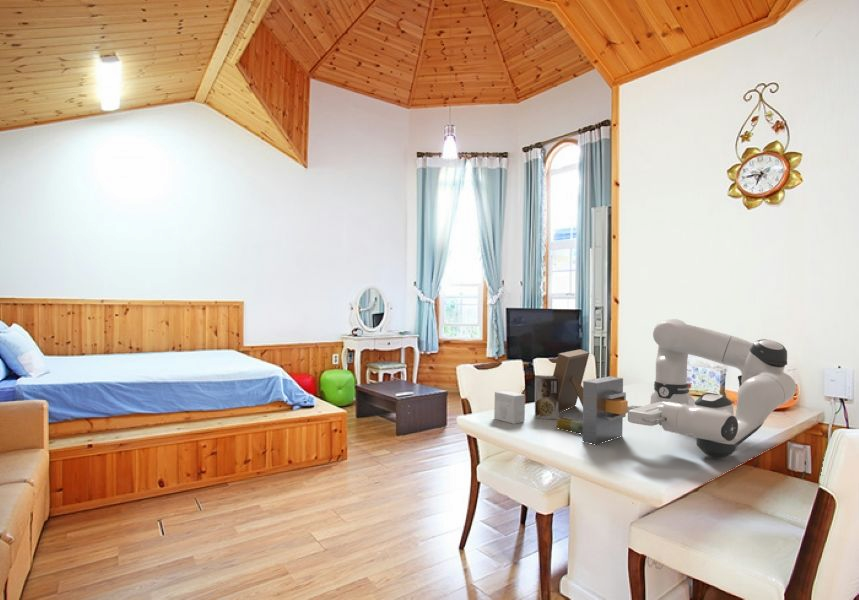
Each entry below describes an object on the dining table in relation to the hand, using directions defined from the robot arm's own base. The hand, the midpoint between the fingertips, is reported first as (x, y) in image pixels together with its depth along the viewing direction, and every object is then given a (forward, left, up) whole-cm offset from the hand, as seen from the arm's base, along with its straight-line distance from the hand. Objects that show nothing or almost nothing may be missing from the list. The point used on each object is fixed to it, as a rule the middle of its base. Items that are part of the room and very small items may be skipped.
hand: (629, 408), depth 155 cm
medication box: (0, -21, -13) cm, 24 cm away
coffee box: (-9, -39, -12) cm, 42 cm away
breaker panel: (0, -8, -12) cm, 14 cm away
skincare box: (+6, -45, -12) cm, 47 cm away
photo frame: (-25, -38, -12) cm, 47 cm away
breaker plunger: (0, -6, -2) cm, 7 cm away
